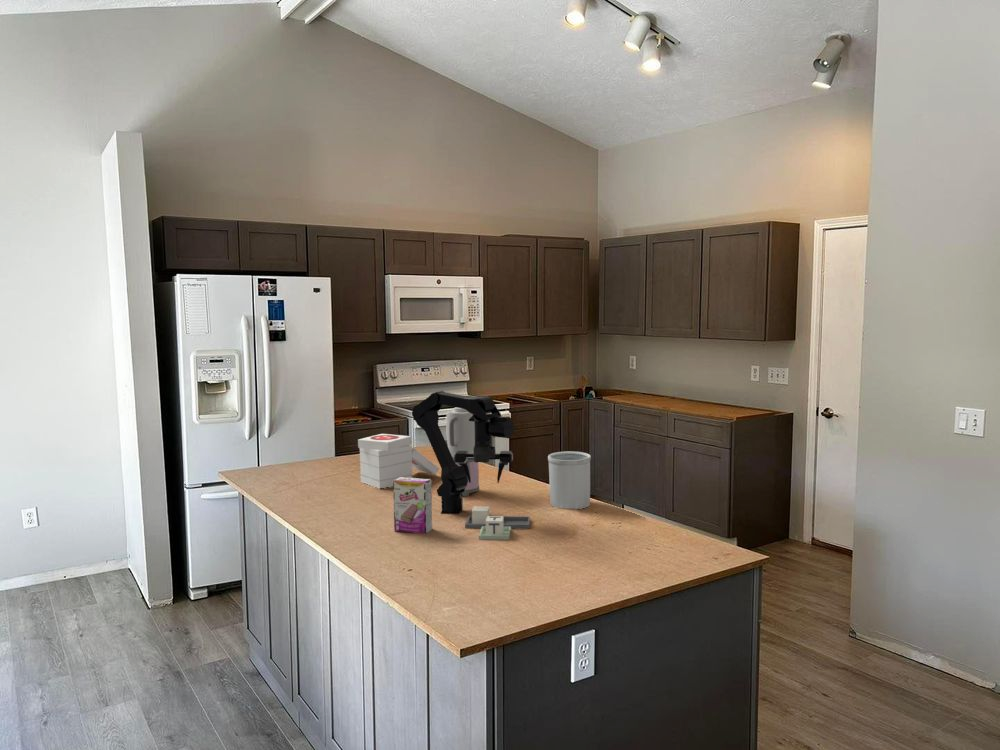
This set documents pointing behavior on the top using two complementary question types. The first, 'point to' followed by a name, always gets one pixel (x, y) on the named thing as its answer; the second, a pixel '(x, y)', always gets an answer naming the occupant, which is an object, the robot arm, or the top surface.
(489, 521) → the letter cube
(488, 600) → the top surface
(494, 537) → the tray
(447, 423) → the blender
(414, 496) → the candy bar box
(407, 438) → the pizza boxes
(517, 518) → the tray right
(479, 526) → the tray left
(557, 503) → the utensil holder
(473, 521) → the blank cube
